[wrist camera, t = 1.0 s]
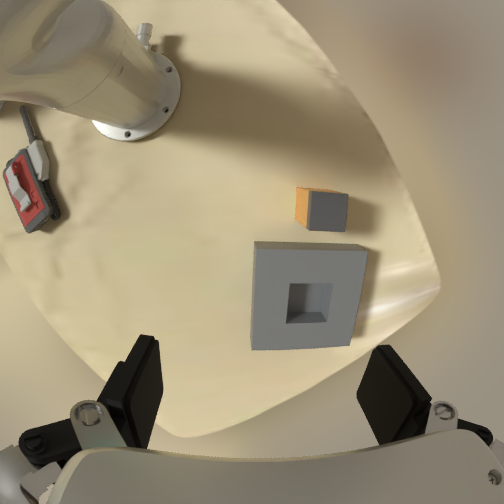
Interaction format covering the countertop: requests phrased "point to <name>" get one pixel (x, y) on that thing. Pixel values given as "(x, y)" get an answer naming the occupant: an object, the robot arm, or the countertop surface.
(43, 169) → the walkie-talkie
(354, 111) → the countertop surface
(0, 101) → the grey and black mug
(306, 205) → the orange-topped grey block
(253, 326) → the socket plate
